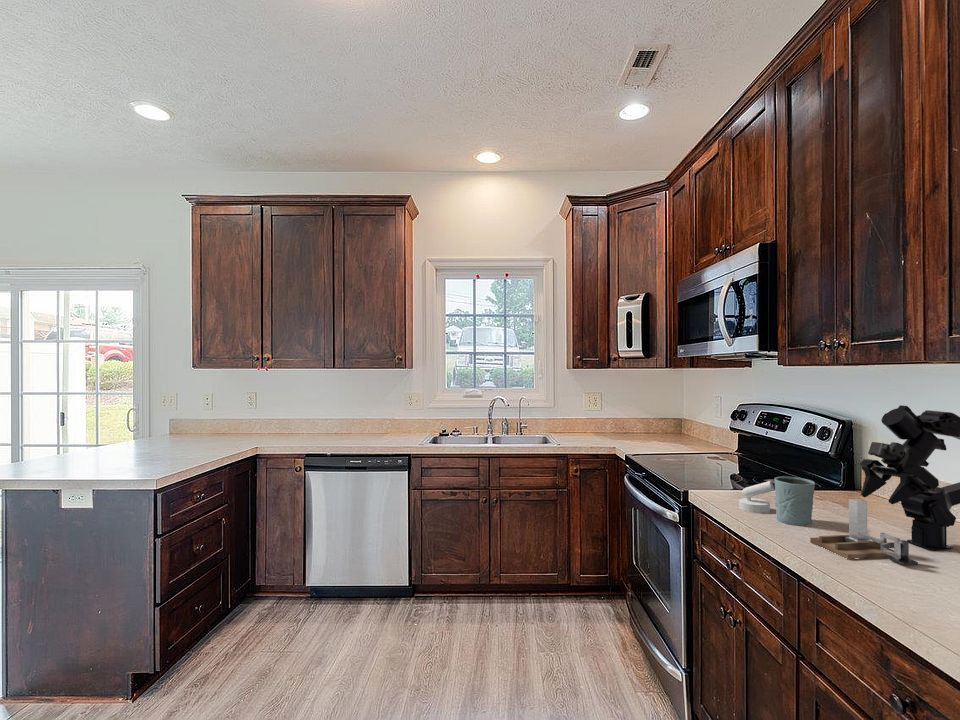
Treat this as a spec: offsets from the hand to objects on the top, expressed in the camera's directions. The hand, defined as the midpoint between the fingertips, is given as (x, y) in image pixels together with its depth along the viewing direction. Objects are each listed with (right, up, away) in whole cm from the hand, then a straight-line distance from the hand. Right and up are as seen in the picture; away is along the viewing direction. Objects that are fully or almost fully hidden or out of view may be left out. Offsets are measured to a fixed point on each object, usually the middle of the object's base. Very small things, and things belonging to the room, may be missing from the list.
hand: (876, 499), depth 132 cm
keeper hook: (-3, -12, -10) cm, 16 cm away
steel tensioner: (-5, -10, -6) cm, 13 cm away
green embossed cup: (-7, -12, +22) cm, 26 cm away
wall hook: (-12, -13, +34) cm, 38 cm away
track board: (-7, -12, -1) cm, 14 cm away
